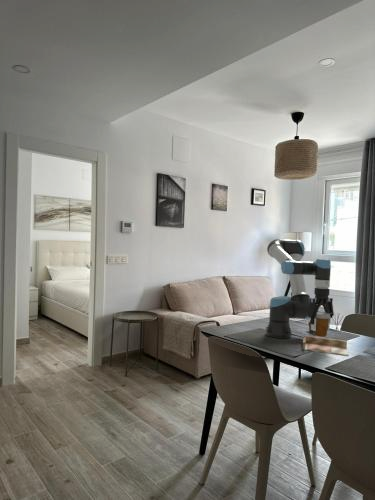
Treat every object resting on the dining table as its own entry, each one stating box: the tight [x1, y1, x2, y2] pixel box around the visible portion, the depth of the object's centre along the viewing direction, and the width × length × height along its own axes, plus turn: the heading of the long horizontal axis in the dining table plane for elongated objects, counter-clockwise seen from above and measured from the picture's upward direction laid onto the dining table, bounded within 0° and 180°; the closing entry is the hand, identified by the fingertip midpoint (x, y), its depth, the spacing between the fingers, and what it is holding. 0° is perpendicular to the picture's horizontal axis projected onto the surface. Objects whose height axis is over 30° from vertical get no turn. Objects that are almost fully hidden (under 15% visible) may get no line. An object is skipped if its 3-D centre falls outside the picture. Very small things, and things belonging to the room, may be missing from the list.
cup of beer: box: [313, 311, 331, 338], centre depth 189 cm, size 10×10×12 cm
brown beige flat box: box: [302, 335, 349, 357], centre depth 189 cm, size 22×15×4 cm
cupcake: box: [307, 319, 314, 334], centre depth 229 cm, size 10×10×10 cm
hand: (320, 329), depth 189 cm, fingers closed on cup of beer, 9 cm apart
